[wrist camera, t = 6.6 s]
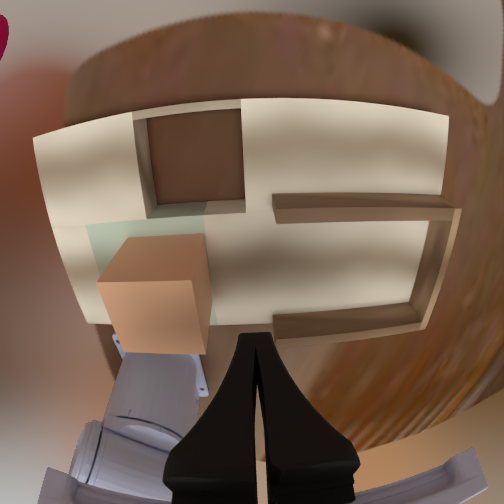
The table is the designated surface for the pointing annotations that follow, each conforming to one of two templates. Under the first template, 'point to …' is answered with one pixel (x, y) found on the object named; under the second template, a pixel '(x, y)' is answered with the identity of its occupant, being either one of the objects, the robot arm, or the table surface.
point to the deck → (253, 204)
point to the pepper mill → (3, 34)
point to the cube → (159, 294)
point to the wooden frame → (359, 210)
